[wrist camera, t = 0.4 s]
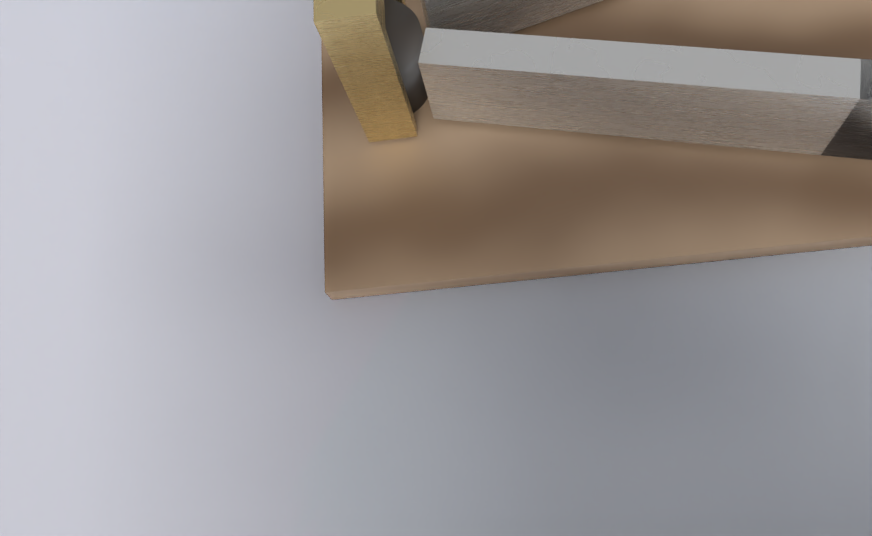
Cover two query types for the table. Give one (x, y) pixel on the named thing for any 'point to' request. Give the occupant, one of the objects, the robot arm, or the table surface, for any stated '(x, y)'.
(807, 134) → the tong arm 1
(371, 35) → the brushed brass block
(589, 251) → the board
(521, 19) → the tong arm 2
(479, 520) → the table surface
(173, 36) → the table surface
